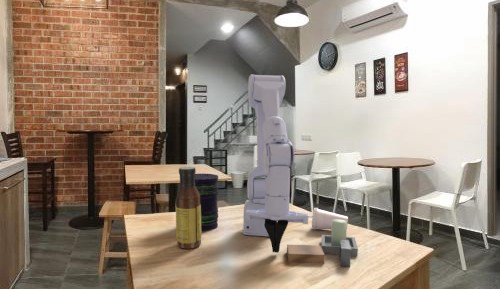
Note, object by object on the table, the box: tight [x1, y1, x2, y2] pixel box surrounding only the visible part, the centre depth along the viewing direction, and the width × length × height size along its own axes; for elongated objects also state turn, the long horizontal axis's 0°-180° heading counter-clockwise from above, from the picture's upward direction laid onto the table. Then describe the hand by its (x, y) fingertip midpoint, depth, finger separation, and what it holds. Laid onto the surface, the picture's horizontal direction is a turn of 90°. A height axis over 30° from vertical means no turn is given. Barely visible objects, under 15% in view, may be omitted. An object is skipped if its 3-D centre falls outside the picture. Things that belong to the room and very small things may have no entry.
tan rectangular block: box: [286, 244, 325, 265], centre depth 85 cm, size 8×6×2 cm
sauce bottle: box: [174, 166, 202, 250], centre depth 91 cm, size 6×6×20 cm
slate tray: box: [320, 234, 359, 257], centre depth 91 cm, size 8×8×2 cm
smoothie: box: [308, 207, 349, 231], centre depth 106 cm, size 6×6×14 cm
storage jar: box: [195, 173, 219, 232], centre depth 107 cm, size 10×10×15 cm
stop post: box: [339, 239, 352, 268], centre depth 83 cm, size 2×6×4 cm, turn 169°
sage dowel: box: [331, 219, 348, 246], centre depth 91 cm, size 4×4×6 cm
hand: (275, 250), depth 86 cm, fingers closed
